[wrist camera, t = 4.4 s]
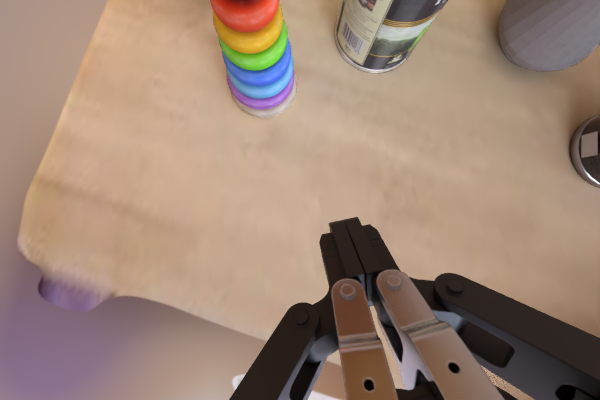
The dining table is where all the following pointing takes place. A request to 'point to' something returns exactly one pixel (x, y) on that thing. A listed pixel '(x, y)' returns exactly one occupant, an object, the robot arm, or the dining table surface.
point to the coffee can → (382, 31)
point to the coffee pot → (549, 32)
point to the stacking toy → (256, 55)
